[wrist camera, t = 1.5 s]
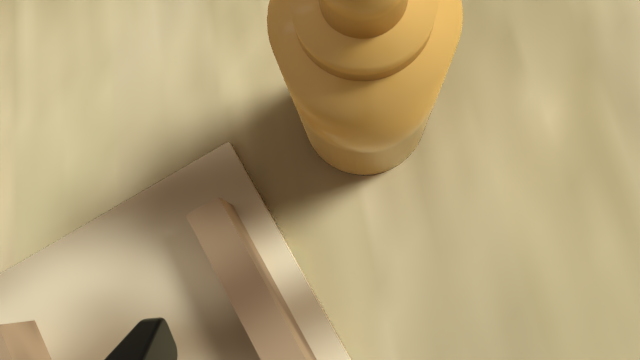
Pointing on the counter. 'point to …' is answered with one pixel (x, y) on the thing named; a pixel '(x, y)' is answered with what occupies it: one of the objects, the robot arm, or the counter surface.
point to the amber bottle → (364, 73)
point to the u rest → (170, 278)
